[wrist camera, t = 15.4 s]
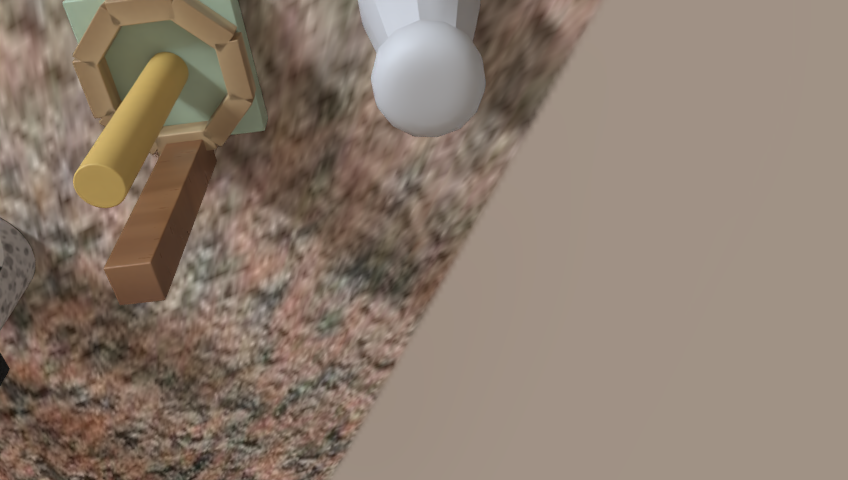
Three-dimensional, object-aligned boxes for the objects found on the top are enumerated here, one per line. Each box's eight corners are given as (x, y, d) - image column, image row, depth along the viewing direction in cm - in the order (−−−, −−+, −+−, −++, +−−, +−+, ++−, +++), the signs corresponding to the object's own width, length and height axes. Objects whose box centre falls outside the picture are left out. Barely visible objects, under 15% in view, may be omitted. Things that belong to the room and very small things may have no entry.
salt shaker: (358, 38, 40) (347, 160, 30) (360, -78, 37) (348, 12, 27) (470, 43, 41) (499, 165, 30) (481, -71, 38) (518, 21, 27)
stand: (231, -29, 38) (170, 77, 28) (268, 118, 43) (228, 257, 32) (72, -8, 39) (-49, 105, 28) (126, 136, 43) (39, 280, 33)
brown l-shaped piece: (59, 1, 37) (-59, 110, 28) (228, -21, 37) (169, 81, 27) (125, 172, 43) (47, 314, 33) (273, 154, 42) (238, 292, 33)
